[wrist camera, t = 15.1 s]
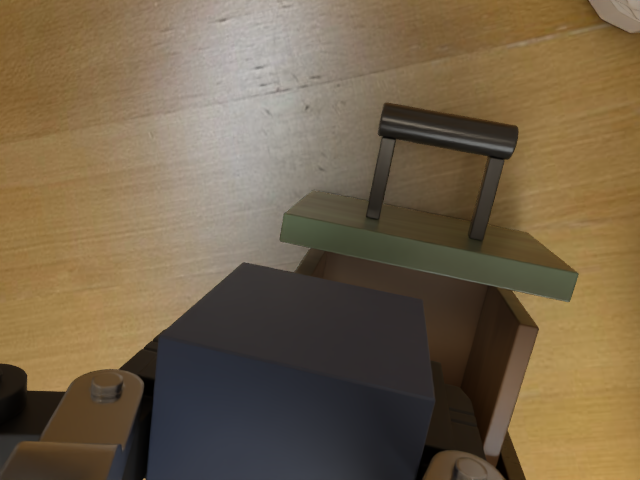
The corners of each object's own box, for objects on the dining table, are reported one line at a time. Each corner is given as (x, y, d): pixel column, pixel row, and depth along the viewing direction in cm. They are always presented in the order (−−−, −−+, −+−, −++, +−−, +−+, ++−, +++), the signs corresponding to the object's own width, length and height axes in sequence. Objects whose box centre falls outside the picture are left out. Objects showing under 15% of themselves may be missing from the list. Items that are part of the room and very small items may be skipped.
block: (222, 418, 14) (137, 557, 9) (242, 261, 13) (157, 335, 8) (386, 458, 13) (379, 626, 9) (423, 299, 12) (436, 399, 8)
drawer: (328, 96, 25) (304, 84, 18) (556, 136, 24) (622, 141, 17) (274, 408, 30) (237, 495, 23) (463, 454, 29) (486, 561, 22)
